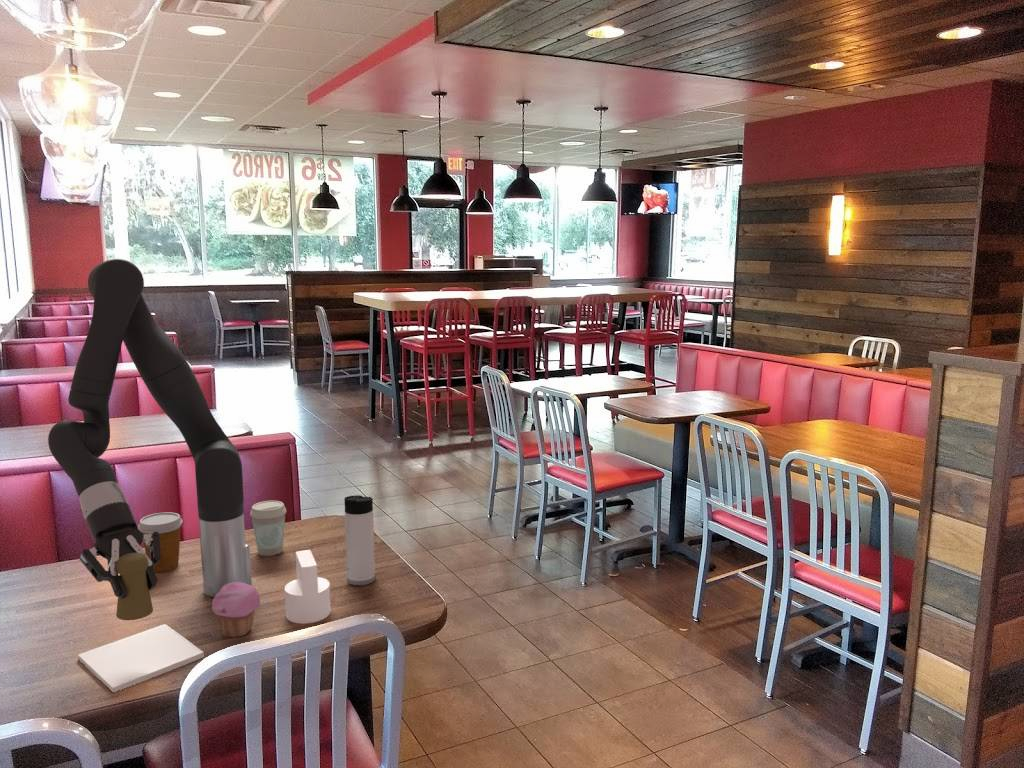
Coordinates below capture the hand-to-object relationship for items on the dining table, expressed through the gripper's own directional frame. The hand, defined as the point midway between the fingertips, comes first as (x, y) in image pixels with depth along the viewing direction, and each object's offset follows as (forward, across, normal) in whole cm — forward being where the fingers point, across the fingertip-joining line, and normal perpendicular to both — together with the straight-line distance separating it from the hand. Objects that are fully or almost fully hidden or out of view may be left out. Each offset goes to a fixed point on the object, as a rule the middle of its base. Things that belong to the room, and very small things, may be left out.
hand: (138, 591), depth 140 cm
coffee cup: (-11, +43, +30) cm, 54 cm away
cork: (+2, 0, +5) cm, 5 cm away
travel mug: (+10, +48, +9) cm, 50 cm away
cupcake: (+11, +17, +8) cm, 22 cm away
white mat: (+9, 0, +11) cm, 14 cm away
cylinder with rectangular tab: (+13, +31, +6) cm, 35 cm away
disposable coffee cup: (-18, +21, +38) cm, 47 cm away
